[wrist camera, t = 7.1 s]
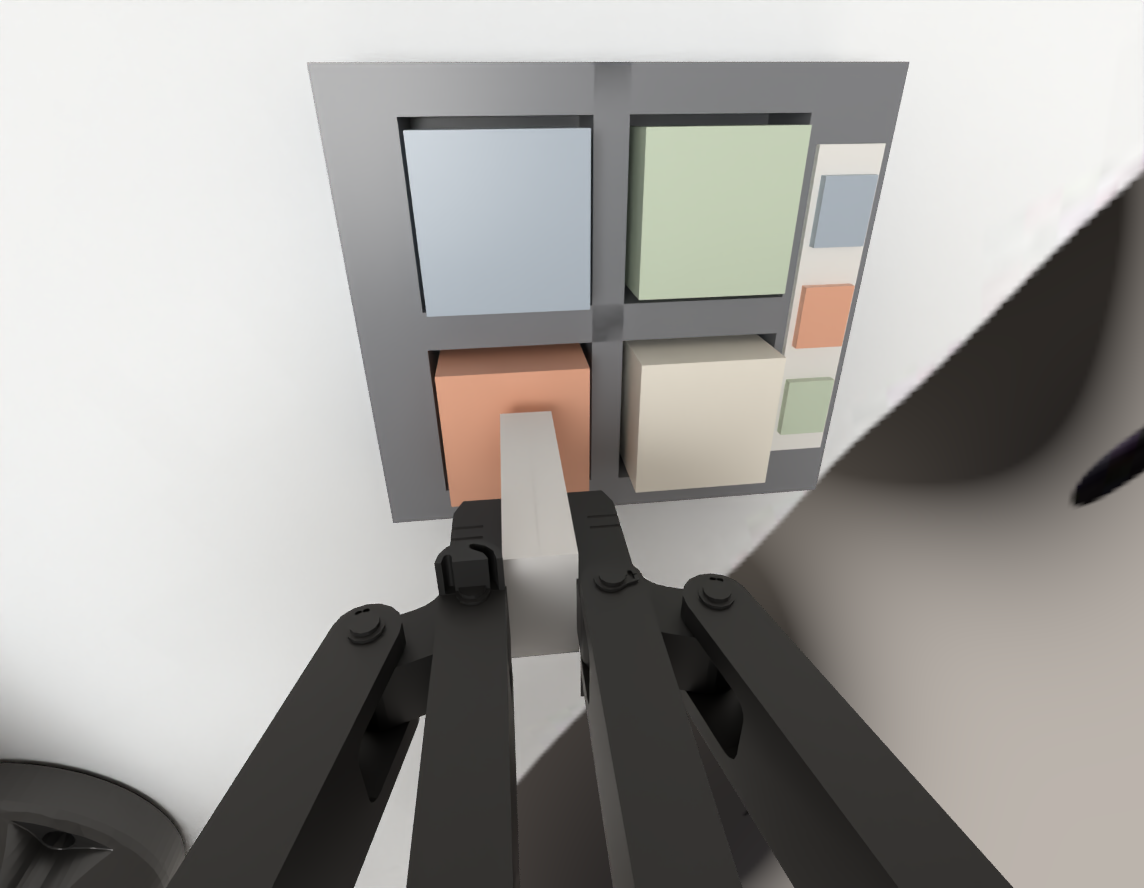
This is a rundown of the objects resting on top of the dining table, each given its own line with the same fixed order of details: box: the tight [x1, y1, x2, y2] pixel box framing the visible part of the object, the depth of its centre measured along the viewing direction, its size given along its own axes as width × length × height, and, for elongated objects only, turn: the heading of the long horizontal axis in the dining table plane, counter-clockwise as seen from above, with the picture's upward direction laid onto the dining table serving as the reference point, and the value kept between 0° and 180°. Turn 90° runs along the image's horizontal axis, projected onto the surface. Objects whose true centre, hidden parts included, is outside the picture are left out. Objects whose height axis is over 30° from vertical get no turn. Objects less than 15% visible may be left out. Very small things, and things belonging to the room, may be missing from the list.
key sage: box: [625, 124, 812, 300], centre depth 18 cm, size 5×5×3 cm
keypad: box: [307, 62, 909, 523], centre depth 20 cm, size 14×16×4 cm
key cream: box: [619, 334, 786, 493], centre depth 21 cm, size 5×5×3 cm
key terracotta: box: [435, 343, 590, 507], centre depth 20 cm, size 5×5×3 cm
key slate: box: [403, 127, 591, 317], centre depth 17 cm, size 5×5×3 cm
